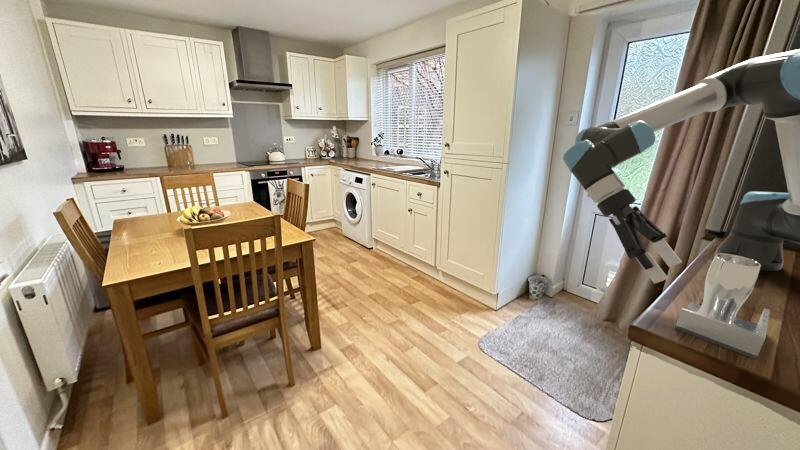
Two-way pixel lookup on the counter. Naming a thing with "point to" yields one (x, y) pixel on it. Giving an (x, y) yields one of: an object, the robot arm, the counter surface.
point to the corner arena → (725, 330)
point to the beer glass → (728, 286)
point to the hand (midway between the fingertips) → (668, 272)
